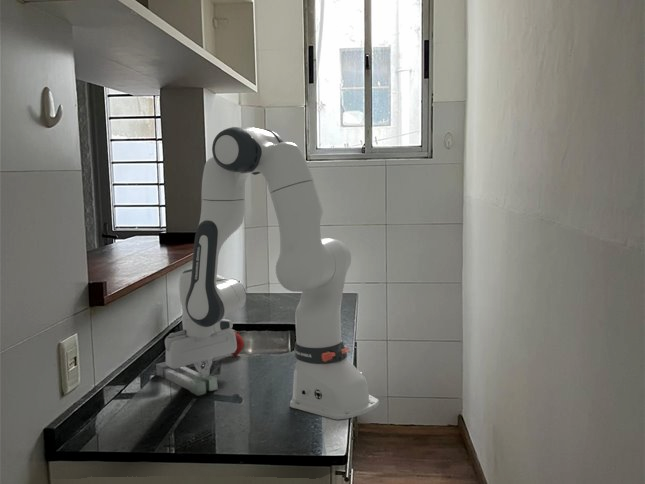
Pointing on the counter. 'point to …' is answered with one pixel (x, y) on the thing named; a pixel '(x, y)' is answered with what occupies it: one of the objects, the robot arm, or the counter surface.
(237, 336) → the onion
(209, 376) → the tong arm
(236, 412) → the counter surface
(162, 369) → the tong base
